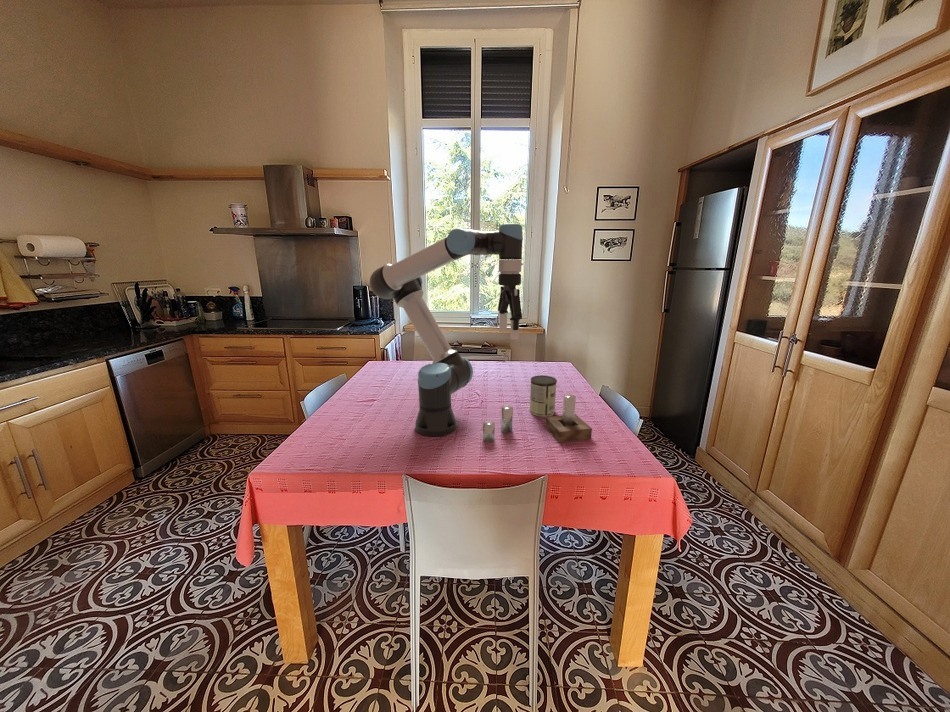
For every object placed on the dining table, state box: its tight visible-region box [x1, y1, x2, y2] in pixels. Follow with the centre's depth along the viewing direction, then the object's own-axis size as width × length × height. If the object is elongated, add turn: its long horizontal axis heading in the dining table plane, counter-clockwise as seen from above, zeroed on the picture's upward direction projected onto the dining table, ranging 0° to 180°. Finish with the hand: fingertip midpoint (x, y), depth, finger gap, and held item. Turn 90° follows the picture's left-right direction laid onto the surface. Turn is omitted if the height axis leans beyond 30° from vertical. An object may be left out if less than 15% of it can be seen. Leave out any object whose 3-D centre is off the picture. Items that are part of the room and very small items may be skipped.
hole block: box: [544, 413, 593, 443], centre depth 127 cm, size 12×12×4 cm
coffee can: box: [529, 374, 558, 418], centre depth 143 cm, size 10×10×14 cm
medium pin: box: [500, 405, 514, 434], centre depth 128 cm, size 4×4×9 cm
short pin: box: [482, 420, 496, 443], centre depth 122 cm, size 4×4×6 cm
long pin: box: [562, 393, 577, 427], centre depth 126 cm, size 4×4×14 cm
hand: (508, 335), depth 124 cm, fingers open, 13 cm apart
